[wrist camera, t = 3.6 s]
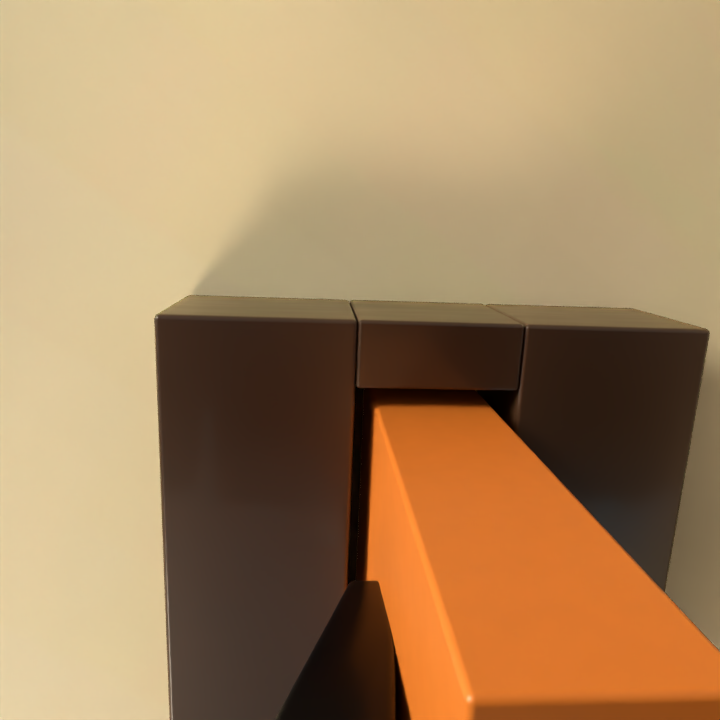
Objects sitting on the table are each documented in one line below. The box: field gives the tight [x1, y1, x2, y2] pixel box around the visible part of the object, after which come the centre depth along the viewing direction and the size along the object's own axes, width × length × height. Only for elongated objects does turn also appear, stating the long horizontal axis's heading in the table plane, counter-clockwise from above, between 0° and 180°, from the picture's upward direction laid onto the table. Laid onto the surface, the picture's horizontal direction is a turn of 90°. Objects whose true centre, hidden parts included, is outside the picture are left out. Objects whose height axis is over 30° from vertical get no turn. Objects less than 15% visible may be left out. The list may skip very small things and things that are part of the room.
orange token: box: [356, 388, 720, 720], centre depth 8 cm, size 2×5×8 cm, turn 178°
